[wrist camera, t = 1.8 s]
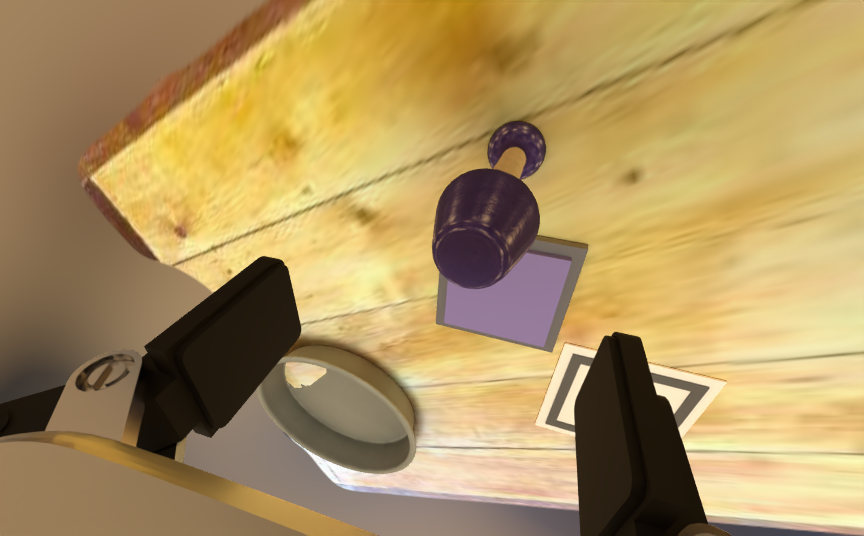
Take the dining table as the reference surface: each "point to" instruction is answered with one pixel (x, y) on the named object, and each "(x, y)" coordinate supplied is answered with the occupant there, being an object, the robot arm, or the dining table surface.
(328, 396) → the cake pan
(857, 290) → the dining table surface
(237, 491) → the robot arm
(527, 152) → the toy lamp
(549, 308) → the ink pad
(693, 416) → the marked card
